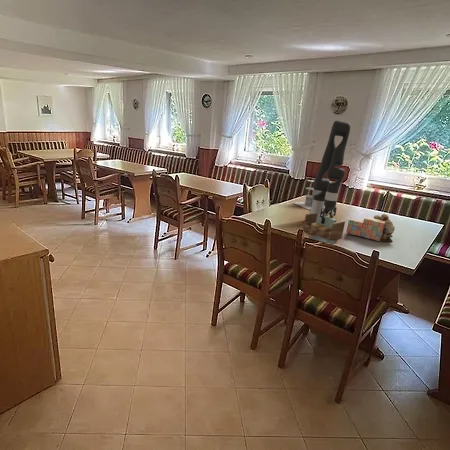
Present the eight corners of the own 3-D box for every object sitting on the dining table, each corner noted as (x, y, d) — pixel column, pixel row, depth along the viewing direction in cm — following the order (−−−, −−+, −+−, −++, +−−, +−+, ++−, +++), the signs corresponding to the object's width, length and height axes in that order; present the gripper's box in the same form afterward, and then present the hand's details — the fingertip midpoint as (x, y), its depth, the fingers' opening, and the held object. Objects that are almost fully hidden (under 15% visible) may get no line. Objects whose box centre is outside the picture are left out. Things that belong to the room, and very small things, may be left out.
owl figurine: (361, 235, 222) (366, 211, 216) (370, 233, 228) (376, 209, 223) (386, 244, 208) (393, 219, 203) (396, 242, 215) (402, 217, 210)
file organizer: (341, 208, 293) (346, 184, 287) (310, 210, 278) (314, 184, 272) (321, 201, 315) (325, 179, 309) (292, 202, 300) (295, 178, 294)
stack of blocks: (345, 232, 221) (349, 215, 217) (348, 230, 226) (352, 213, 222) (379, 241, 209) (384, 223, 206) (381, 239, 214) (386, 221, 211)
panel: (316, 229, 223) (318, 215, 220) (318, 228, 224) (320, 214, 221) (331, 234, 214) (334, 220, 211) (333, 234, 215) (336, 219, 212)
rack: (303, 229, 222) (305, 214, 219) (313, 227, 229) (316, 212, 226) (331, 240, 206) (334, 223, 203) (341, 237, 213) (345, 221, 210)
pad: (309, 237, 208) (309, 236, 208) (316, 235, 213) (317, 234, 213) (328, 244, 198) (328, 244, 197) (335, 242, 203) (335, 241, 202)
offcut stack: (308, 229, 221) (309, 223, 219) (313, 228, 224) (314, 222, 222) (329, 237, 209) (330, 230, 208) (333, 235, 212) (334, 229, 211)
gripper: (332, 196, 219) (327, 220, 224) (319, 198, 211) (315, 222, 216) (342, 199, 214) (337, 223, 219) (329, 201, 205) (324, 226, 210)
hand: (326, 223), depth 217 cm, fingers open, 8 cm apart
